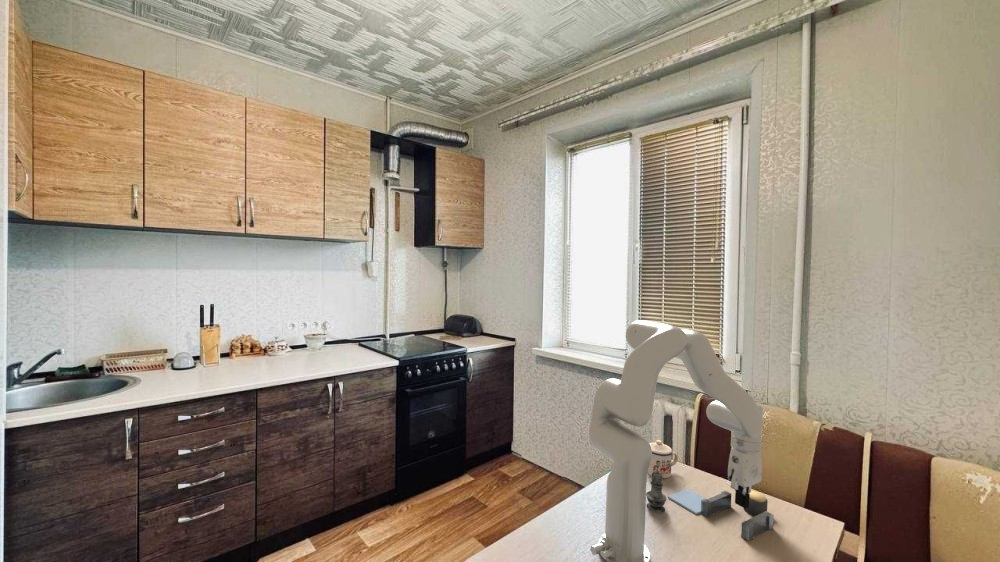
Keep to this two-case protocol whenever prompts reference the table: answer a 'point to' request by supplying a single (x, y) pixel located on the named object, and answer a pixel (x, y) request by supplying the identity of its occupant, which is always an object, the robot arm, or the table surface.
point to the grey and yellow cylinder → (756, 504)
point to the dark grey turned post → (656, 494)
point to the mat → (688, 500)
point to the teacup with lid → (661, 459)
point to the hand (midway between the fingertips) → (741, 505)
